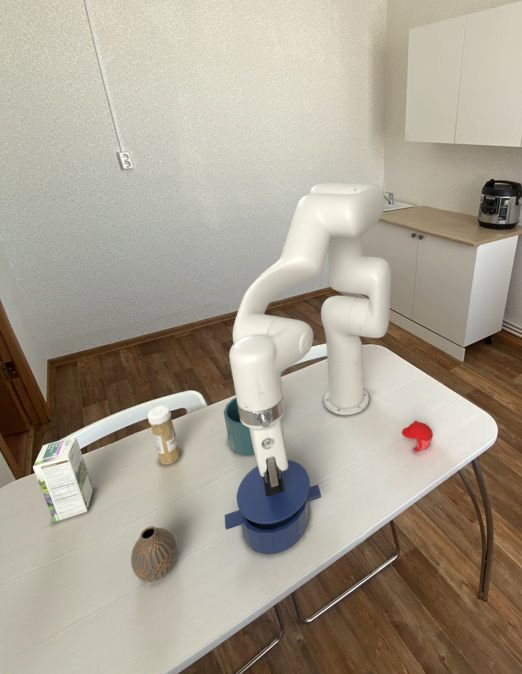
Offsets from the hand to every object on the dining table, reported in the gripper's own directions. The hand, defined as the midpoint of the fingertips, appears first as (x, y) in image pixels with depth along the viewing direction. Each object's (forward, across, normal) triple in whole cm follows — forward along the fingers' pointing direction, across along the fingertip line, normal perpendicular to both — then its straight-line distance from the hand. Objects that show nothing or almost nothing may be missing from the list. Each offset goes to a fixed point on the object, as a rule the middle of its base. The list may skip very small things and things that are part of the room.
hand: (273, 484), depth 71 cm
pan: (+9, 0, 0) cm, 9 cm away
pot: (+10, +24, +2) cm, 26 cm away
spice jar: (+9, +25, +21) cm, 34 cm away
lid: (+1, 0, 0) cm, 1 cm away
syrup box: (+9, +18, +38) cm, 43 cm away
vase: (+9, -2, +21) cm, 23 cm away
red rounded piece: (+10, +7, -34) cm, 36 cm away
